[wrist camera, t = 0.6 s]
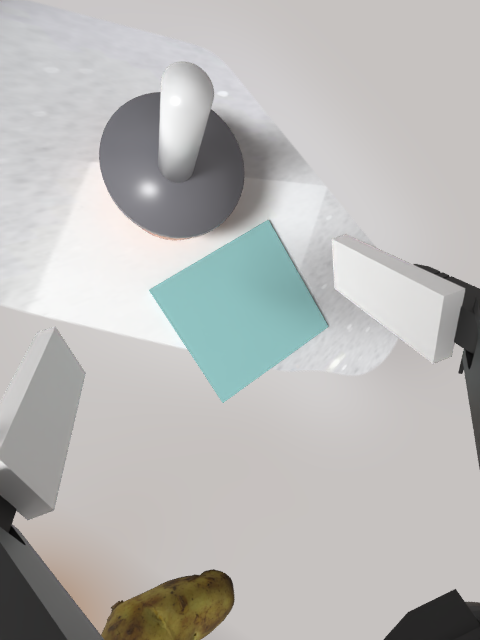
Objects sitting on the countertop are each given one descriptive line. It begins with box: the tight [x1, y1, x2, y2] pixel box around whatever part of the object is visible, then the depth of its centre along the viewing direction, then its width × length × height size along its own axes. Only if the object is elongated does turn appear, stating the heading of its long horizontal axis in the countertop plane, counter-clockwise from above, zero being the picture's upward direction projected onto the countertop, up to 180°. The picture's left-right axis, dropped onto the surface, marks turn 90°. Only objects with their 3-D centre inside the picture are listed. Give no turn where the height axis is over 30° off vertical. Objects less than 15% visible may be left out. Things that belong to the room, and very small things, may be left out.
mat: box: [149, 220, 328, 403], centre depth 37 cm, size 15×16×1 cm
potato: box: [101, 570, 234, 640], centre depth 31 cm, size 8×13×8 cm, turn 72°
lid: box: [99, 62, 244, 238], centre depth 24 cm, size 13×13×11 cm
